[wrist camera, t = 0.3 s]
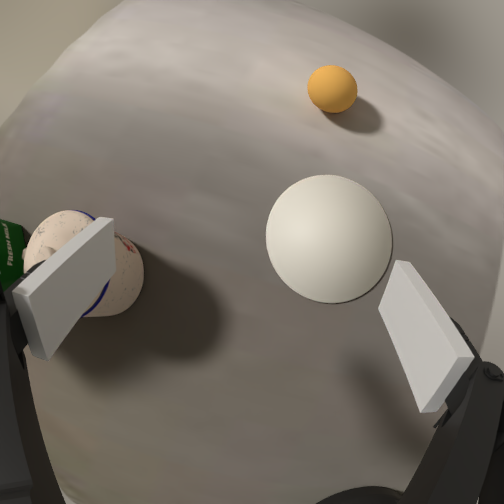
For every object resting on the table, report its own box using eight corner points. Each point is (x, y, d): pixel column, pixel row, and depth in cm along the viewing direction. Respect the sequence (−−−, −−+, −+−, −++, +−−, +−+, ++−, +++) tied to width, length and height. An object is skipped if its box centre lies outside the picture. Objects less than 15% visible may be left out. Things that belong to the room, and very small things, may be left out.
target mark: (390, 304, 30) (391, 304, 30) (262, 300, 31) (262, 300, 31) (388, 182, 32) (389, 181, 32) (268, 171, 33) (269, 170, 33)
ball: (352, 124, 34) (365, 97, 28) (305, 119, 34) (311, 90, 28) (348, 87, 34) (359, 59, 29) (304, 82, 35) (309, 52, 29)
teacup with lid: (155, 238, 32) (105, 205, 20) (138, 327, 31) (80, 336, 19) (63, 222, 33) (-2, 191, 21) (48, 300, 31) (-23, 295, 20)
